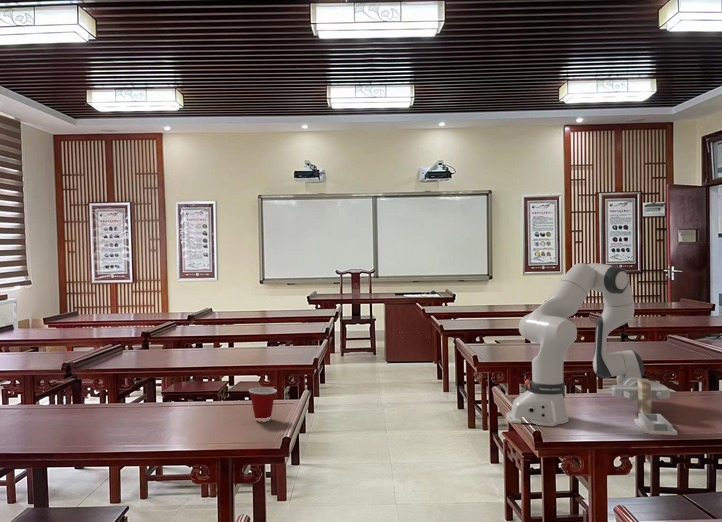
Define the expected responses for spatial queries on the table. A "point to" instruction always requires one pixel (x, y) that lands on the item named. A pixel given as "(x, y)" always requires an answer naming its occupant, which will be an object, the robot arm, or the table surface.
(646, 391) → the tan wooden block
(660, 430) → the floor track
